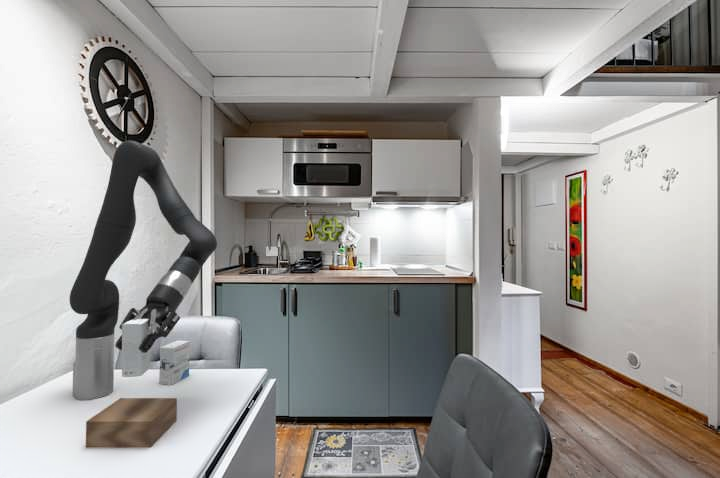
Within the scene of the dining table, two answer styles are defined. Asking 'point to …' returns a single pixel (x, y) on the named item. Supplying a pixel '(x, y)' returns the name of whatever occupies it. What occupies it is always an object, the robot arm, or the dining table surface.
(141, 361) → the skincare box
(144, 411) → the walnut block
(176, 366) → the ink box
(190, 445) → the dining table surface
